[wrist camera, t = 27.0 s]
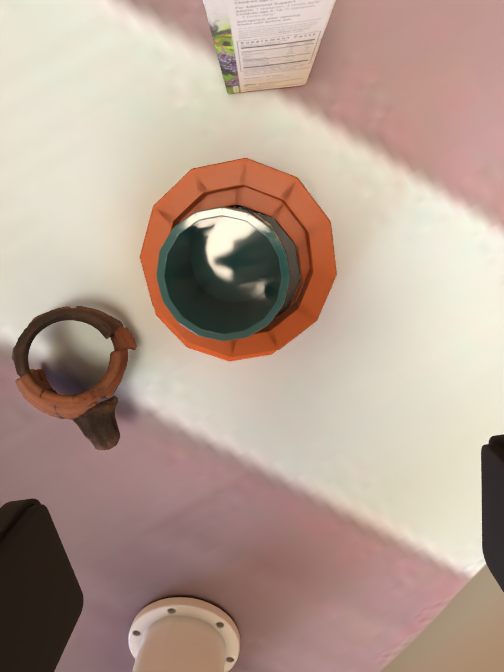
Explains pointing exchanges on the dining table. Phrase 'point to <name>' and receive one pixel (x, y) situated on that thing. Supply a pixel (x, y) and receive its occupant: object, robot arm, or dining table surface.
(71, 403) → the broken clay pot
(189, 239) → the tumbler
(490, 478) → the robot arm
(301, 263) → the orange ring
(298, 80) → the syrup box
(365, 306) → the dining table surface
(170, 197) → the orange ring
